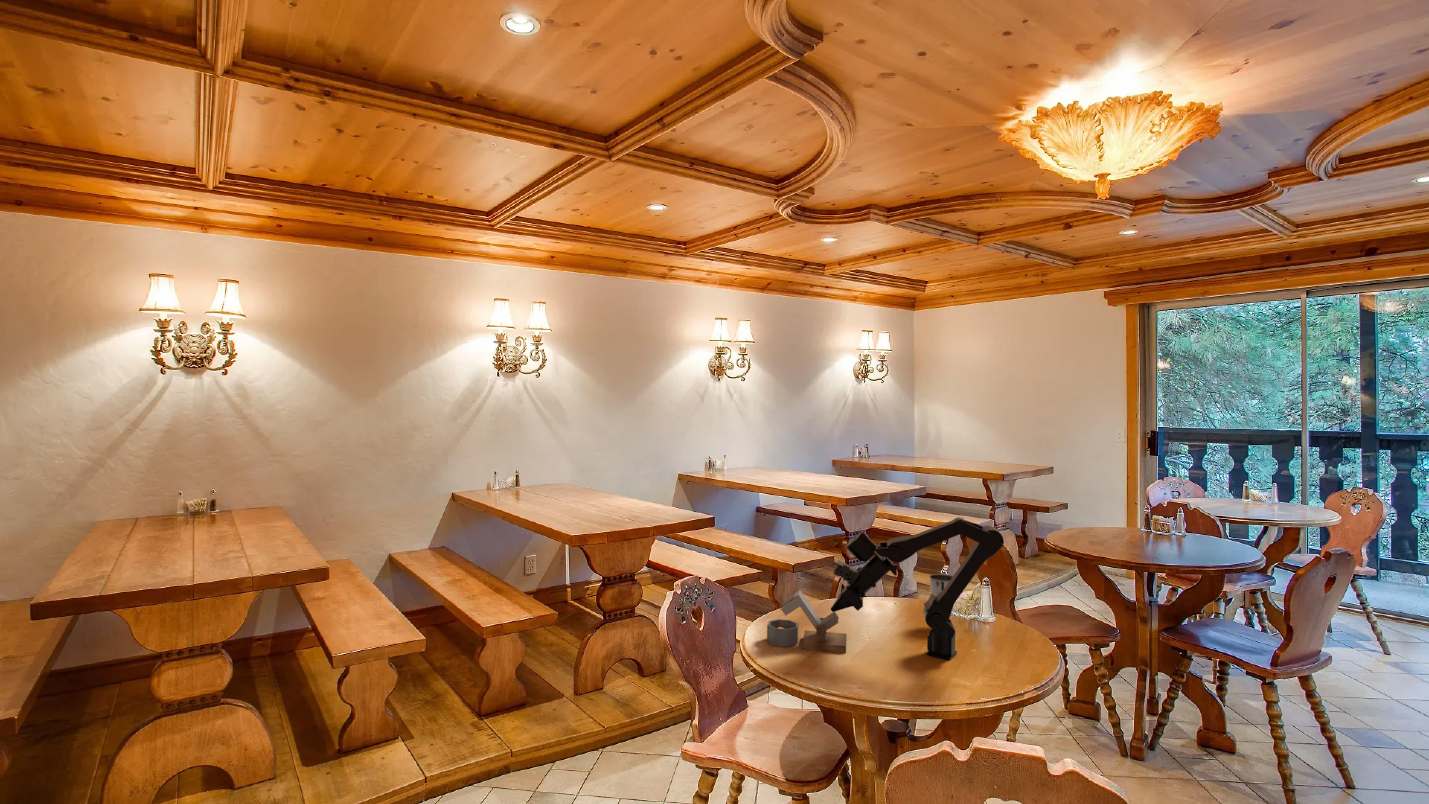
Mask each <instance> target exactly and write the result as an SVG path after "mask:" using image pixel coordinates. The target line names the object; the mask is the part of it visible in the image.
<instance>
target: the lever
mask: <svg viewBox="0 0 1429 804" xmlns="http://www.w3.org/2000/svg"><path fill="white" fill-rule="evenodd" d="M798 608H800V609H801V610H802V612H803V614H805V616H806V617H807V619H808V620H809V621H810V623H811V625H813V627H814V629H815V630H817V625H819V626H825V631H826V632H828V630H830V629H831V628H833V627H835V626H836V625H837V624H839V619H840V618H839V616H838V614H837V613H836V611H835V612H832V613H830V614H828V615H826V617H823V618H824V619H822V620H821V619H820V618H821V617H819V615H818V614H817V612H816V610H815V609H814V608H813V606H812V605H811V604H810V602H809V601H808V600H807V598H806V596H805V595H804V594H803V592H802V591H801V589H799V590H797V591H795V592H794V595H793V596H792V597H790V598H789V599H787V600H785V601H784V602H782V607H780V610H781V612H782V613H783V614H784V615H785V617H787V616H788V615H789V614H791V613H792V612H794V611H795V610H797V609H798Z"/></svg>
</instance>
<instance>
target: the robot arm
mask: <svg viewBox="0 0 1429 804" xmlns="http://www.w3.org/2000/svg"><path fill="white" fill-rule="evenodd" d="M959 535H960V536H961V535H962V536H964V537H966V538H969V539H970V540H973V542H972V546H971V548H970V552H969V553H968V554H967V556H966V558H965V559H964V560H963V562H962V563H961V564H960V566H959V567H958V569H956V571H955V573H954V574H953V575H952V576H953V577H952V578H951V580H950V581H949V583H948V584H947V586H946V587H945V588H944V590H943V591H942V592H941V593H940V594H939V595H937V596H935V595H934V594H933V593H931V594H930V595H929V597H928V599H927V600H926V602H924V603H923V607H924V608H923V611H922V613H923V618H924V620H925V623H926V625H927V627H929V628H930V630H929V631H928V632H929V633H928V635H927V639H926V641H927V642H926V643H927V644H926V646H927V647H926V650H927V652H926V655H927V656H932V657H936V658H940V659H944V660H949V661H951V660H952V659H953V657H955V656H956V655H957V654H958V651H956V629H955V625H954V624H953V622H952V620H951V619H950V617H951V615H952V612H953V609H954V605H955V604H956V602H957V601H958V599H959V598H960V596H961V595H962V593H963V592H964V591H965V590H966V588H967V586H968V585H969V584H970V582H971V581H972V580H973V578H974V576H975V575H976V574H977V573H978V571H979V570H980V568H981V566H982V565H983V564H984V563H985V562H986V561H988V560H989V559H990V558H991V559H992V557H993V556H994V555H996V554H997V553H998V552H999V551H1000V550H1001V549H1002V548H1003V546H1004V544H1005V541H1004V536H1003V535H1002V533H1001V532H1000V531H999V530H998V529H997V528H996V527H994V526H992V525H985V526H983V525H980V524H978V523H976V522H971V521H969V520H966V519H964V518H963V517H955V518H953V519H952V520H950V521H947V522H945V523H942V524H939V525H936V526H933V527H931V528H929V529H926V530H923V531H921V532H918V533H916V534H911V535H902V536H895V537H892V538H890V539H888V540H887V541H882V542H874V541H873V540H872V539H871V537H869V536H868V535H867V533H866V532H865V531H863V530H862V531H861V532H860V533H858V534H857V535H856V536H853V537H852V538H851V539H850V540H849V541H848V542H847V543H846V544H845V546H844V547H845V548H846V549H847V551H848V552H849V553H850V554H851V555H853V557H854V558H855V559H856V560H857V561H858V562H863V563H866V564H864V565H863V566H859V567H857V568H854V567H853V566H851V565H849V564H848V563H845V562H843V561H842V560H838V561H837V562H836V563H835V567H834V568H833V575H835V576H837V577H840V578H842V580H843V581H844V582H845V581H846V583H845V584H844V583H841V585H840V586H841V587H840V593H839V595H838V597H837V598H836V599H835V601H834V603H833V604H832V605H831V607H830V611H831V612H832V613H833V612H835V613H836V612H838V611H841V610H842V611H843V610H845V609H848V608H852V607H853V608H854V609H855V610H856V611H860V610H861V609H862V608H863V607H864V598H865V597H866V594H867V593H868V592H869V591H870V590H871V589H872V588H873V589H874V588H876V586H877V583H879V581H881V580H882V579H883V578H884V577H885V576H886V575H887V574H888V573H890V572H891V573H892V574H893V575H894V576H895V577H896V576H897V575H898V574H897V572H898V570H897V569H898V563H903V562H904V561H906V560H907V559H909V558H911V557H912V556H914V555H915V554H916V553H918V552H919V551H920V550H922V549H925V548H928V547H931V546H933V545H936V544H939V543H941V542H944V541H946V540H949V539H952V538H955V537H957V536H959ZM892 562H893V563H892ZM953 625H954V626H953Z"/></svg>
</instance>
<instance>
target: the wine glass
mask: <svg viewBox="0 0 1429 804" xmlns="http://www.w3.org/2000/svg"><path fill="white" fill-rule="evenodd" d="M953 576H954V575H950V574H944V573H934V574H933V573H932V574H931V575H929V589H930V593H931V594H932V593H933V594H934V595H935V596H937V595H939V594H940V593H941V592H942V591H943V590H944V588H945V587H946V586H947V584H948V583H949V581H950V580H951V578H952V577H953ZM953 626H954V627H955V625H954V624H953Z"/></svg>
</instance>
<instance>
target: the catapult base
mask: <svg viewBox="0 0 1429 804" xmlns="http://www.w3.org/2000/svg"><path fill="white" fill-rule="evenodd" d="M819 618H820V619H821V620H822V619H824V618H825V617H819ZM815 630H816V629H815ZM815 630H804V633H803V634H804V635H803V639H802V645H801V646H802V647H801V648H802V650H804V651H816V652H817V651H818V652H827V653H828V652H831V653H839V654H840V653H842V654H846V653H847V640H848V639H847V633H843V632H842V633H841V632H833V631H832V632H831V631H830V632H829V631H825V626H819V625H817V630H816V631H815Z"/></svg>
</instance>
